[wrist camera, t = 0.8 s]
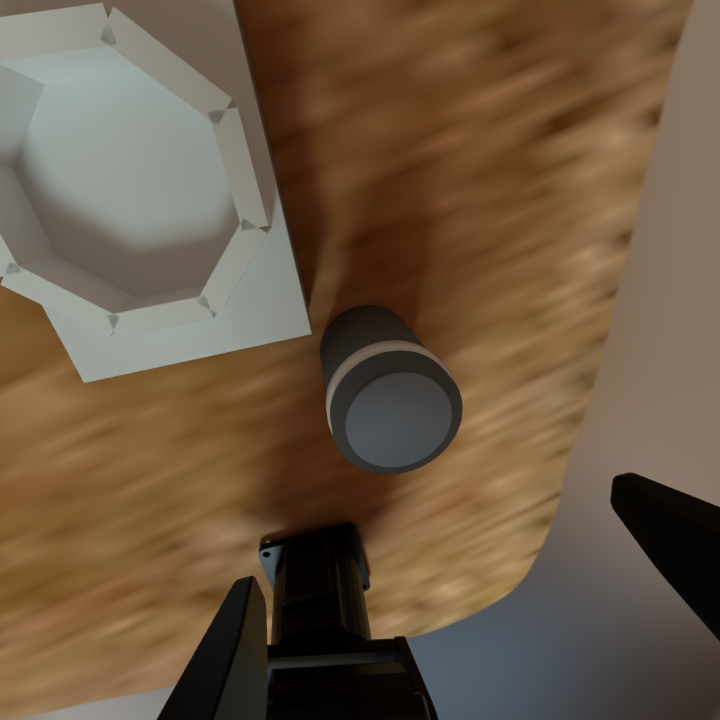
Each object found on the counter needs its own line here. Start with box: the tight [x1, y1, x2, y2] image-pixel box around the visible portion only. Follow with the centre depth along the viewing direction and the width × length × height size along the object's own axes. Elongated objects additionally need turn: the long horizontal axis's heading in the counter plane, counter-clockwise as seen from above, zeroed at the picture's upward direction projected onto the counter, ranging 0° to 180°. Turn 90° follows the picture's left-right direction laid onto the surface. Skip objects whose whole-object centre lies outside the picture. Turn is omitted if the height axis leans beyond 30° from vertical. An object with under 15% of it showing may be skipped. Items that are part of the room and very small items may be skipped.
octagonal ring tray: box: [0, 0, 312, 383], centre depth 13 cm, size 12×9×6 cm
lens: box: [320, 306, 462, 474], centre depth 17 cm, size 5×5×7 cm
